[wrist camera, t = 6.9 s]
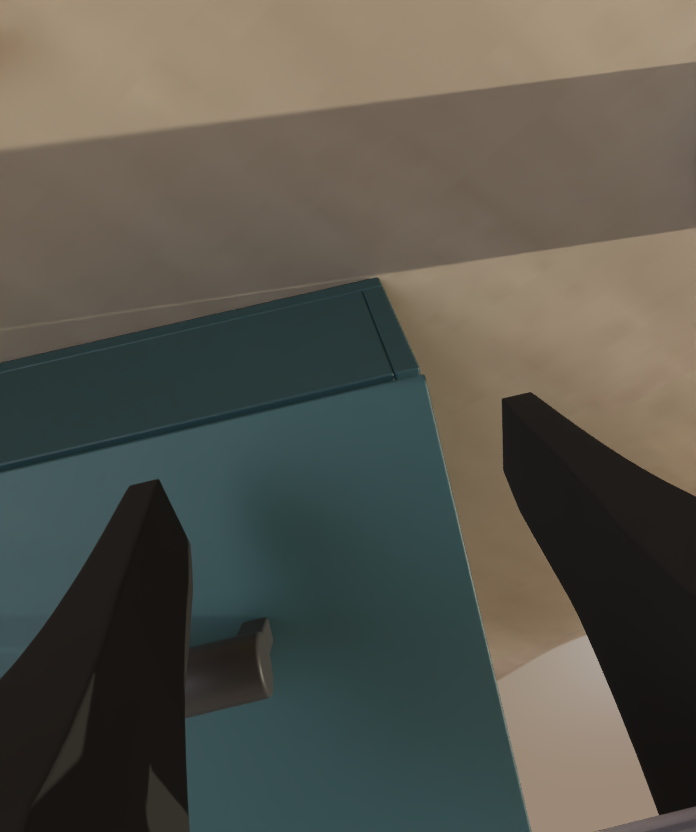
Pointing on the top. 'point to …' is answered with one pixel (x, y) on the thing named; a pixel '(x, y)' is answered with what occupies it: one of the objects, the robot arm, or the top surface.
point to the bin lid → (300, 613)
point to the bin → (199, 372)
